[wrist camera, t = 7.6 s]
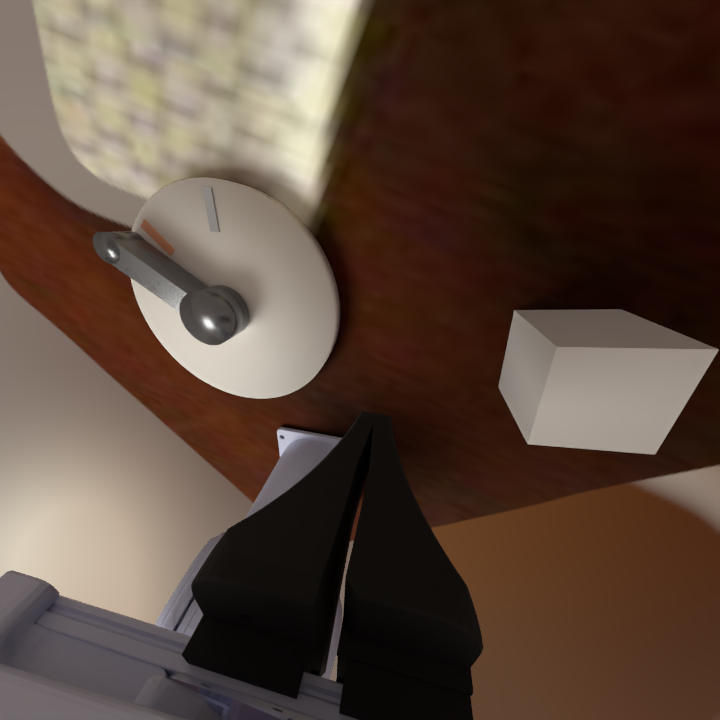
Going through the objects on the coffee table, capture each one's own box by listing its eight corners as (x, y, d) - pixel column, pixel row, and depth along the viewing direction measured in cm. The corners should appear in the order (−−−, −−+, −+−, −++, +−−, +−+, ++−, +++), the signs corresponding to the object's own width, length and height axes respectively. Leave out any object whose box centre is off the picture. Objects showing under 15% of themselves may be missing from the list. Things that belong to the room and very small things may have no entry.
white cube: (513, 309, 17) (556, 346, 12) (620, 308, 16) (719, 348, 11) (497, 387, 20) (527, 444, 15) (588, 390, 19) (655, 455, 13)
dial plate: (338, 401, 23) (333, 412, 22) (178, 375, 25) (165, 384, 24) (343, 186, 16) (336, 182, 14) (115, 176, 18) (90, 172, 16)
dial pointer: (257, 307, 18) (238, 316, 16) (238, 342, 20) (219, 355, 18) (130, 212, 17) (94, 211, 15) (121, 259, 19) (88, 263, 17)
